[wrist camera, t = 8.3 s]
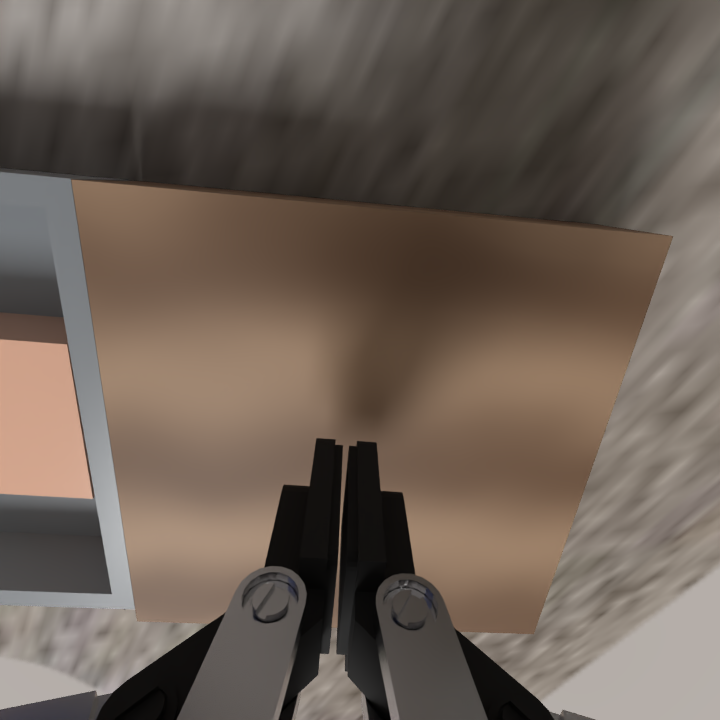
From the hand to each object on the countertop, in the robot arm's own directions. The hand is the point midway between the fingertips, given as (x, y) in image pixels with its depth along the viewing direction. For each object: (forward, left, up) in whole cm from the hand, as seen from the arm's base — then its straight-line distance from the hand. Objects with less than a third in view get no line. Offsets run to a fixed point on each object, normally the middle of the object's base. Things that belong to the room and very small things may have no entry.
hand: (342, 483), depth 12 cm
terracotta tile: (+1, -12, -6) cm, 13 cm away
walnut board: (+1, +1, -6) cm, 6 cm away
